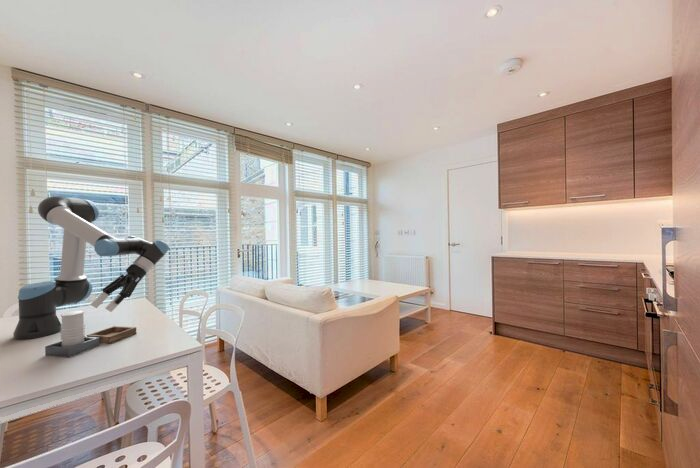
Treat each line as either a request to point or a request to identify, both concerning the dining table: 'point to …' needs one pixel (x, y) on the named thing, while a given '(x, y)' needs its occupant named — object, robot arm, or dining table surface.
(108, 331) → the tray
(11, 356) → the dining table surface
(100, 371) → the dining table surface
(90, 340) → the shallow grey tray
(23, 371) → the dining table surface
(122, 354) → the dining table surface
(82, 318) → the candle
